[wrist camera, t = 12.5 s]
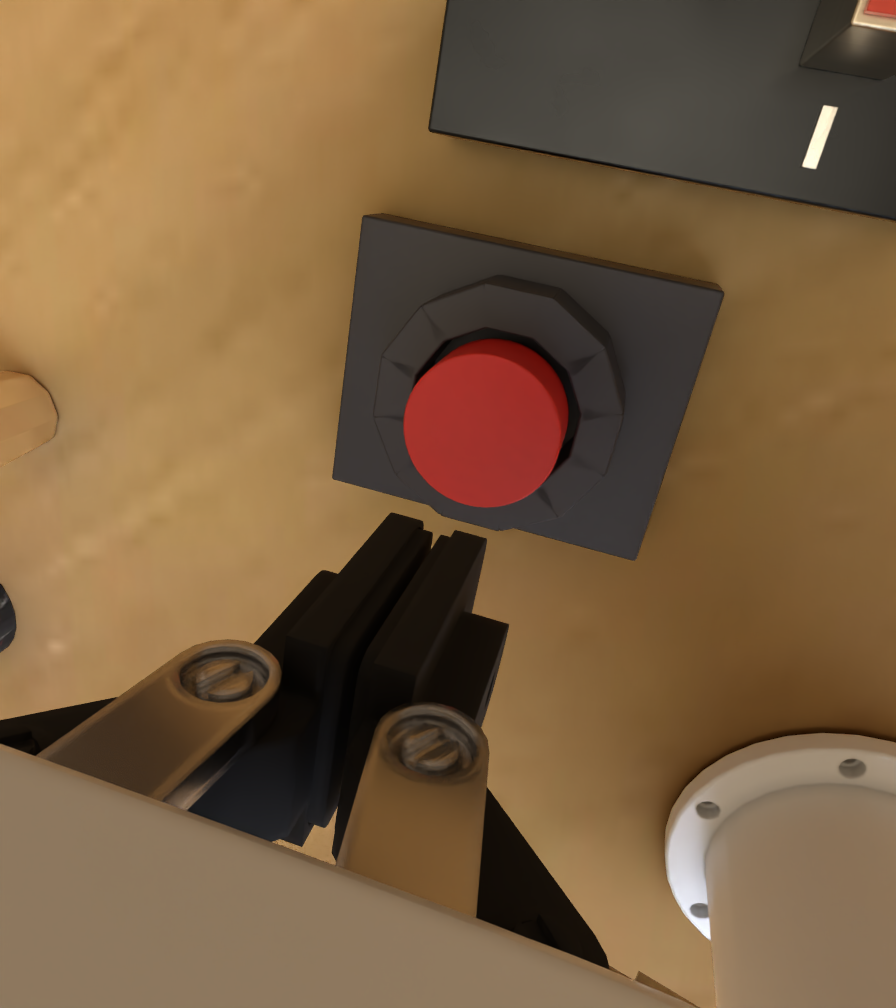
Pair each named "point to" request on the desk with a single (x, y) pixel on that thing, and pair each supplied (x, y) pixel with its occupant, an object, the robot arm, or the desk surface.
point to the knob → (853, 38)
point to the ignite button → (487, 423)
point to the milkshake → (23, 416)
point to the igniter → (549, 332)
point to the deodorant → (6, 620)
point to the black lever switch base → (671, 96)
